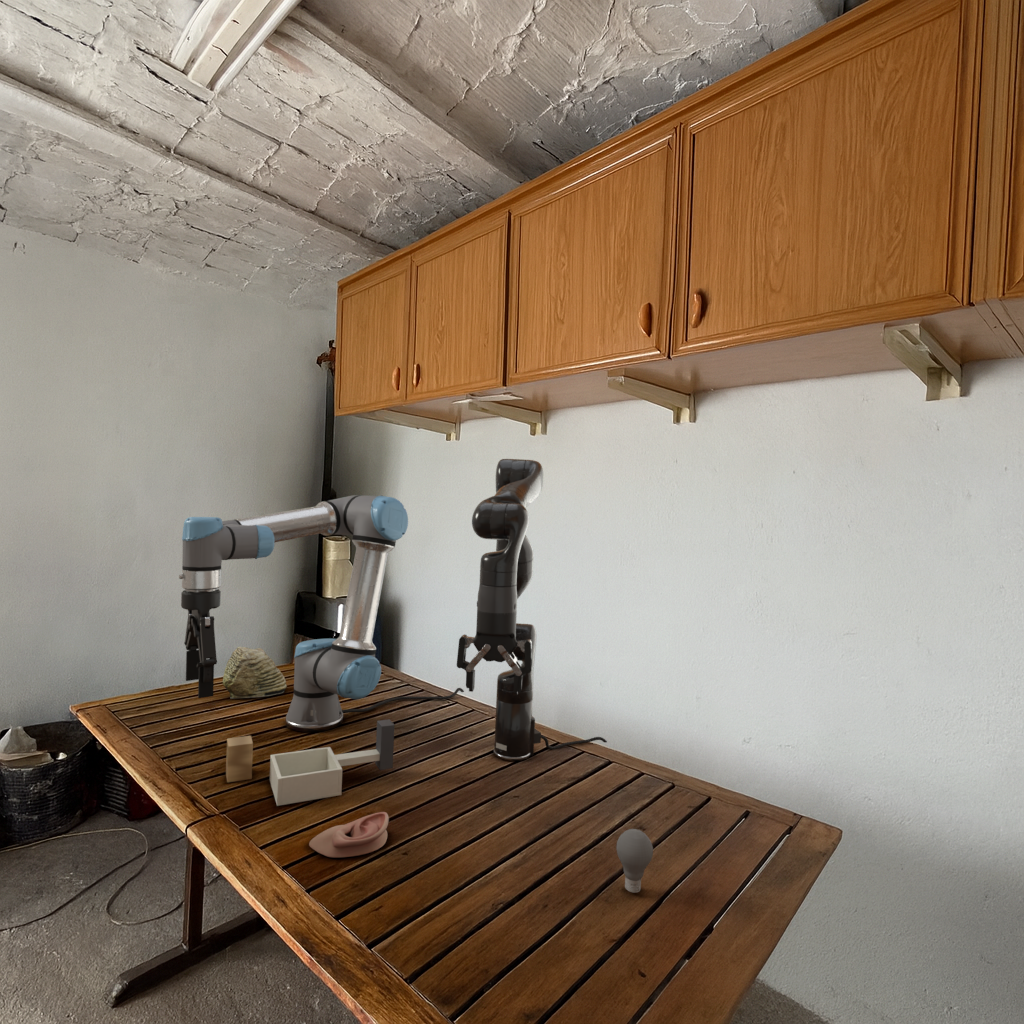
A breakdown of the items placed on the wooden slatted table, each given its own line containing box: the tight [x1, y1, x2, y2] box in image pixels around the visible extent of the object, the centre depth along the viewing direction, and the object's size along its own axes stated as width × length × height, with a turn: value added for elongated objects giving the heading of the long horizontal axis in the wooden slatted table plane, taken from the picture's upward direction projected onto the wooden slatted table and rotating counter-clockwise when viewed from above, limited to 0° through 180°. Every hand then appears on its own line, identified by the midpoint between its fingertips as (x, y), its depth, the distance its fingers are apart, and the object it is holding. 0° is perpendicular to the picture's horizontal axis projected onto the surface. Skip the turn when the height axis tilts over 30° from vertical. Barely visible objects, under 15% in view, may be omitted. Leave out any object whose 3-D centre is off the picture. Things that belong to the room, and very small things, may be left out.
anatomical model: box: [308, 811, 390, 859], centre depth 117 cm, size 13×4×12 cm
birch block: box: [225, 735, 254, 783], centre depth 142 cm, size 5×5×8 cm
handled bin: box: [269, 718, 395, 807], centre depth 141 cm, size 26×13×12 cm, turn 117°
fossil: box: [222, 646, 288, 699], centre depth 198 cm, size 9×18×15 cm, turn 132°
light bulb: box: [615, 828, 654, 894], centre depth 106 cm, size 6×6×10 cm
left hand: (198, 688), depth 136 cm, fingers open, 13 cm apart
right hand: (493, 692), depth 121 cm, fingers open, 8 cm apart
